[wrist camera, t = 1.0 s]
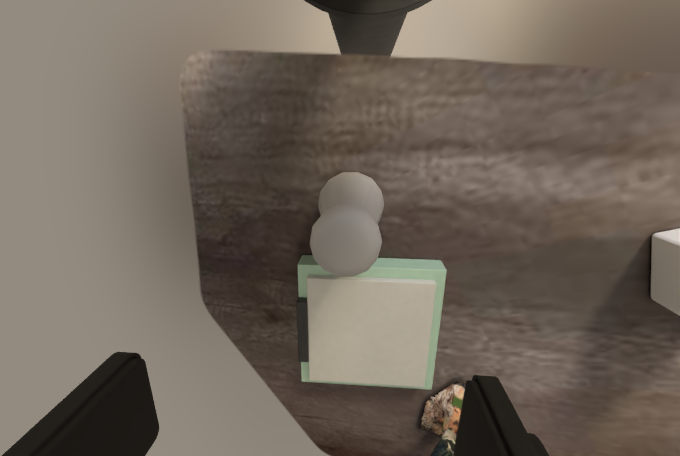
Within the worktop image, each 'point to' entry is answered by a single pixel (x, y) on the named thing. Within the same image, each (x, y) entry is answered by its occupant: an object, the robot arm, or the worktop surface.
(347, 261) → the salt shaker
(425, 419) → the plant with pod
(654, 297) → the medicine bottle
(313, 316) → the scale
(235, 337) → the worktop surface
